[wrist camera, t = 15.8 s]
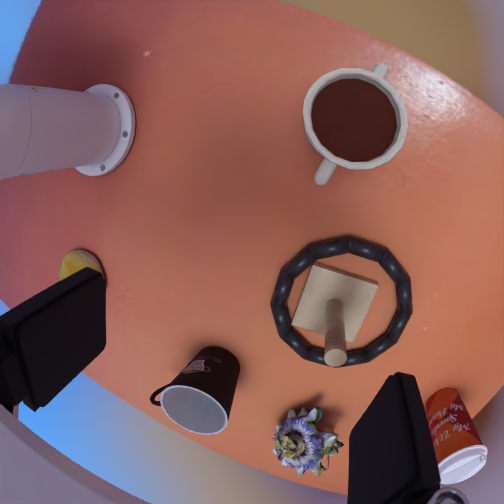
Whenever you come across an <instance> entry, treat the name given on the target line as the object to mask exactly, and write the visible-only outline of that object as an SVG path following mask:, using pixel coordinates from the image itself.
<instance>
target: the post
mask: <svg viewBox="0 0 504 504" xmlns="http://www.w3.org/2000/svg"><path fill="white" fill-rule="evenodd" d="M378 287H379V285H378V282H376V281H373V280H370V279H367V278H364V277H361V276H357V275H354V274H351V273H348V272H345V271H342V270H339V269H335V268H332V267H329V266H326V265H323V264H319V263H316V262H314V263H313V264H312V265H311V268H310V271H309V274H308V277H307V280H306V283H305V286H304V288H303V291H302V294H301V297H300V300H299V303H298V305H297V308H296V311H295V314H294V316H293V319H292V323H291V325H294V326H297V327H300V328H303V329H307V330H310V331H313V332H317V333H320V334H324V335H325V350H324V360H325V362H326V364H327V365H329V366H331V367H338V366H341V365H343V364H344V363H345V362H346V360H347V350H346V341H348V342H351V343H353V342H354V340H355V338H356V336H357V333H358V331H359V329H360V327H361V325H362V323H363V321H364V319H365V316H366V314H367V312H368V310H369V308H370V305H371V303H372V301H373V299H374V296H375V294H376V292H377V289H378Z"/></svg>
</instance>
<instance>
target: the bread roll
mask: <svg viewBox="0 0 504 504" xmlns="http://www.w3.org/2000/svg"><path fill="white" fill-rule="evenodd" d="M85 267H90V268H92V269H94V270H96V271H99V272H101V273H102V274H103V272H102V270H101V267H100V264H99V262H98V260H97V259H96V258H95V257H94V256H93V255H92V254H90V253H89V252H87V251H84V250H74V251H71V252H69V253H68V254H66V256H65V257H64V261H63V263H62V265H61V268H60V270H59V277H58V278H59V281H61V280H63V279H65V278H66V277H68V276H70V275H72V274H74V273H75V272H77V271H79V270H81V269H83V268H85ZM103 278H104V275H103Z"/></svg>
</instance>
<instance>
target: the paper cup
mask: <svg viewBox="0 0 504 504" xmlns="http://www.w3.org/2000/svg"><path fill="white" fill-rule="evenodd" d="M426 412H427V418H428V424H429V428H430V432H431V436H432V441H433V445H434V449H435V454H436V458H437V463H438V468H439V473H440V478H441V482H440V483H443V484H453V483H458V482H460V481H462V480H465V479H467V478H469V477H471V476H472V475H474V474H475V473H477V472H478V471H479V470H480V469H481V468H482V467H483V466H484V464H485V463H486V455H487V448H486V447H485V446H483V444H482V442H481V440H480V437H479V435H478V433H477V431H476V428H475V427H474V424H473V421H472V419H471V417H470V415H469V413H468V411H467V409H466V407H465V405H464V403H463V401H462V400H461V398H460V396H459V394H458V392H457V391H456V390H455V389H452V388H446V389H442V390H439V391H438V392H436V393H434V394H433V395H432V396H431V397H430V398H429V399H428V401H427V403H426Z"/></svg>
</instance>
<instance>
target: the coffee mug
mask: <svg viewBox="0 0 504 504" xmlns="http://www.w3.org/2000/svg"><path fill="white" fill-rule="evenodd" d="M239 372H240V365H239V362H238V360H237V358H236V357H235V356H234V355H233V354H232V353H231V352H229V351H228V350H226V349H224V348H221V347H216V346H210V347H206V348H204V349H202V350H201V351H200V352H199V353H198V354H197V355H196V356H195V357H194V358H193V360H192V361H191V362H190V363H189V364H188V365H187V366H186V367H185V368H184V369H183V370H182V371H181V372H180V373H179V375H178V376H177V377H176V378H175V379H174V380H173V381H172V382H171V383H170V384H168V385H166V386H163V387H161V388H160V389H158V390H156V391H155V392H154V393H153V394H152V395H151V397H150V401H151V403H152V404H154V405H156V406H162V408H163V410H164V412H165V413H166V415H167V416H168V417H169V418H170V419H171V420H172V421H173V422H175V423H176V424H177V425H179V426H180V427H182V428H184V429H186V430H188V431H191V432H194V433H197V434H203V435H213V434H217V433H219V432H222V431H223V430H224V429H225V428H226V426H227V423H228V419H229V415H230V410H231V406H232V402H233V398H234V393H235V389H236V385H237V380H238V376H239ZM162 391H163V392H162ZM160 392H162V393H161V396H160V401H155V397H156V396H157V395H158V394H159V393H160Z"/></svg>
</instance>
